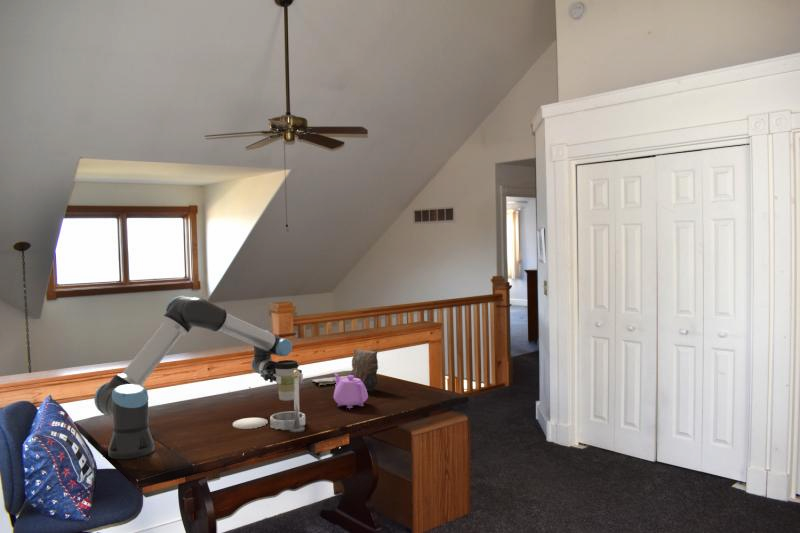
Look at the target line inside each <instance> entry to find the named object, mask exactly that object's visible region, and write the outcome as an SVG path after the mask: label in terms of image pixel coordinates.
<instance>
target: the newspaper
mask: <svg viewBox="0 0 800 533" xmlns="http://www.w3.org/2000/svg"><path fill="white" fill-rule="evenodd" d="M347 376H348V375H341V376H340V375H339V377H340V380H341V379H344V378H347ZM312 382H318V383H319V384H318V387H321V386H320V385H323V386H328V385H327V384H330V385H335V383H336V377H335V376H331V377H324V378H316V379H311V383H312Z"/></svg>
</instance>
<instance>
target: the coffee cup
mask: <svg viewBox="0 0 800 533" xmlns="http://www.w3.org/2000/svg"><path fill="white" fill-rule="evenodd" d="M275 362H276V364H275V367H274V368H275V369H276V375H278V376H280V377H281V384H279V383H277V382H276V386H277V391H278V400H280V401H294V377H293V376H292V373H293V371H295V370H297V369H299V367H300V365H299V363H298V361H297V360H293V359H292V360H291V359H289V360H287V359H285V360H279V361H275Z"/></svg>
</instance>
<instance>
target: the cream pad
mask: <svg viewBox="0 0 800 533" xmlns="http://www.w3.org/2000/svg"><path fill="white" fill-rule="evenodd" d="M268 423H269V422H268V419H266V418H263V417H246V418H241V419H238V420H235V421H234V422H232V427H233V428H235V429H239V430H251V429H253V428H254V429H257V428H258V427H259V428H261V427H262V426H263V427H264V426H266V424H267V425H268Z"/></svg>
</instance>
